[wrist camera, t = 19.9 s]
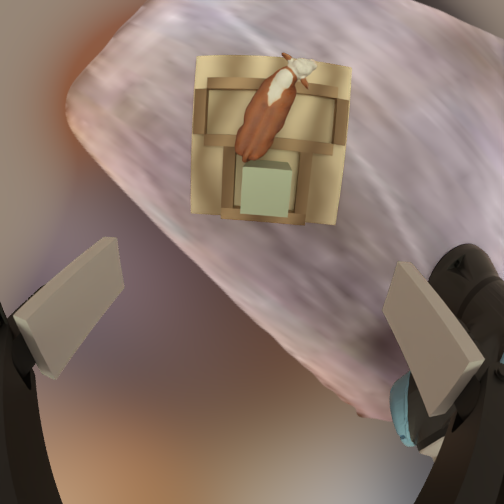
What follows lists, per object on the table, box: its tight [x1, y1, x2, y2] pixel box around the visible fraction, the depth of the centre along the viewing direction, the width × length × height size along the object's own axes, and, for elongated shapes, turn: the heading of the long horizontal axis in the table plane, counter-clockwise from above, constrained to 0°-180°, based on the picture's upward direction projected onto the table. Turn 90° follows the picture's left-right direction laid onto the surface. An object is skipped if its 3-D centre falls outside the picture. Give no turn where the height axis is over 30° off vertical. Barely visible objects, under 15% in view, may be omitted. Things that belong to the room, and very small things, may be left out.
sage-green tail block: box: [240, 160, 292, 218], centre depth 32 cm, size 5×5×8 cm
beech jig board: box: [191, 55, 352, 226], centre depth 33 cm, size 20×22×2 cm
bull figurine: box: [235, 53, 317, 163], centre depth 27 cm, size 4×13×8 cm, turn 149°
